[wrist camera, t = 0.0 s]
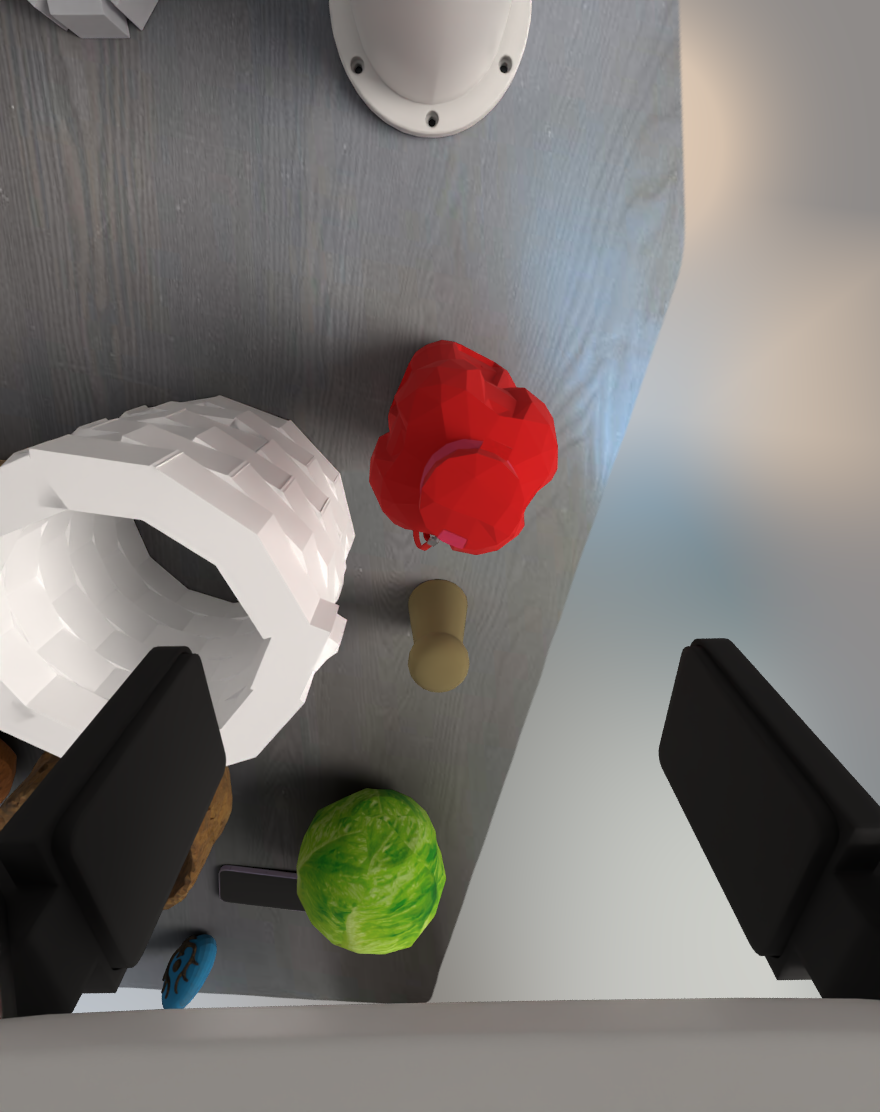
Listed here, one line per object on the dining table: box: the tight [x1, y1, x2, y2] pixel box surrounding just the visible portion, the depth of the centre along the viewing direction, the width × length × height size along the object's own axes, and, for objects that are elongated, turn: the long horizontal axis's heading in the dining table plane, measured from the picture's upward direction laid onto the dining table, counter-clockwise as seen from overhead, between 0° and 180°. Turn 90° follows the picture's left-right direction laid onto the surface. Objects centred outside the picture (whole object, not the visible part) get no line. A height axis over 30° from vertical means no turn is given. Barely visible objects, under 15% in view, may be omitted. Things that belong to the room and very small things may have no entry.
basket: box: [0, 395, 355, 766], centre depth 39 cm, size 25×24×19 cm
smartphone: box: [219, 865, 306, 912], centre depth 71 cm, size 7×1×15 cm
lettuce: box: [296, 788, 446, 954], centre depth 59 cm, size 17×20×15 cm
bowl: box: [0, 751, 232, 910], centre depth 52 cm, size 19×19×15 cm
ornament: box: [161, 934, 217, 1009], centre depth 72 cm, size 8×5×10 cm, turn 125°
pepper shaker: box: [408, 579, 469, 693], centre depth 47 cm, size 6×6×11 cm
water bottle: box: [369, 340, 558, 555], centre depth 32 cm, size 9×11×25 cm
